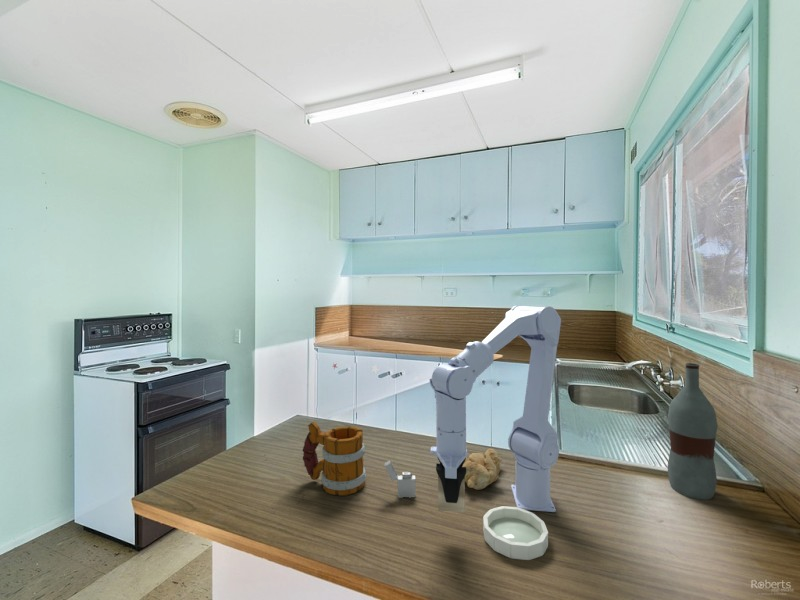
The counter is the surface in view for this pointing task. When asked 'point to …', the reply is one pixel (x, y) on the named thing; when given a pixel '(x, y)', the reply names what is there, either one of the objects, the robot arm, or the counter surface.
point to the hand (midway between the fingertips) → (451, 496)
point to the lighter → (402, 481)
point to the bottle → (692, 440)
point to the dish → (515, 532)
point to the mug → (336, 459)
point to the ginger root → (482, 469)
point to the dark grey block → (451, 506)
